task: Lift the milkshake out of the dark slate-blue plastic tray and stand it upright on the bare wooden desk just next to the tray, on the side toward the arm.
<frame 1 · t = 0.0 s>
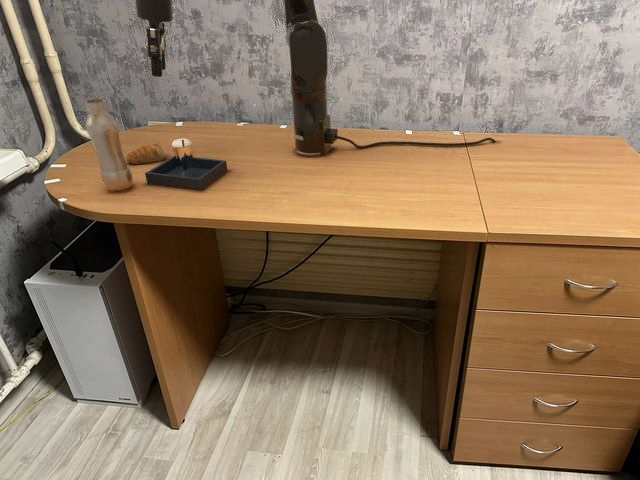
hand: (159, 72, 115), 22 cm above the table, tool pointing down, fingers open, 8 cm apart
plastic bottle: (120, 188, 114), on the table
milkshake: (188, 177, 119), resting in tray
tray: (188, 177, 119), on the table
pastry: (149, 160, 129), on the table
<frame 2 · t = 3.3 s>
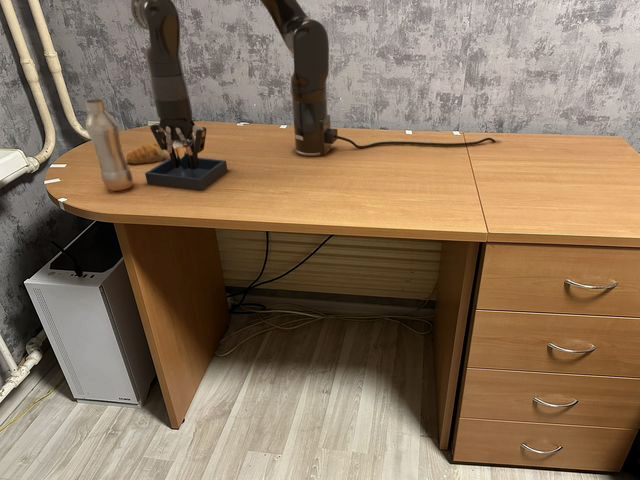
hand: (186, 167, 118), 3 cm above the table, tool pointing down, fingers closed on milkshake, 4 cm apart
milkshake: (188, 176, 119), resting in tray, touching gripper
everything else where it was.
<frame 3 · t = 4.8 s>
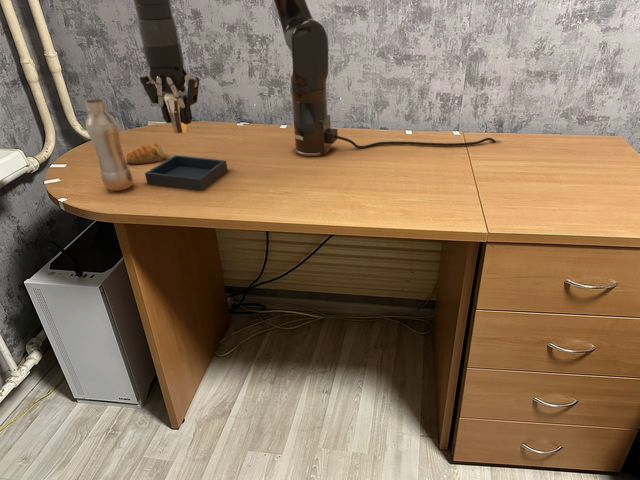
hand: (178, 122, 112), 14 cm above the table, tool pointing down, fingers closed on milkshake, 4 cm apart
milkshake: (181, 133, 113), point 11 cm above the table, touching gripper
everything else where it was.
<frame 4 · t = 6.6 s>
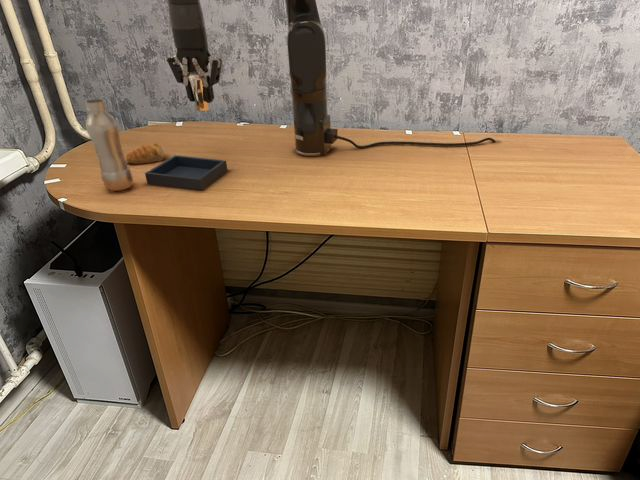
hand: (201, 101, 121), 15 cm above the table, tool pointing down, fingers closed on milkshake, 4 cm apart
milkshake: (203, 111, 122), point 13 cm above the table, touching gripper
everything else where it was.
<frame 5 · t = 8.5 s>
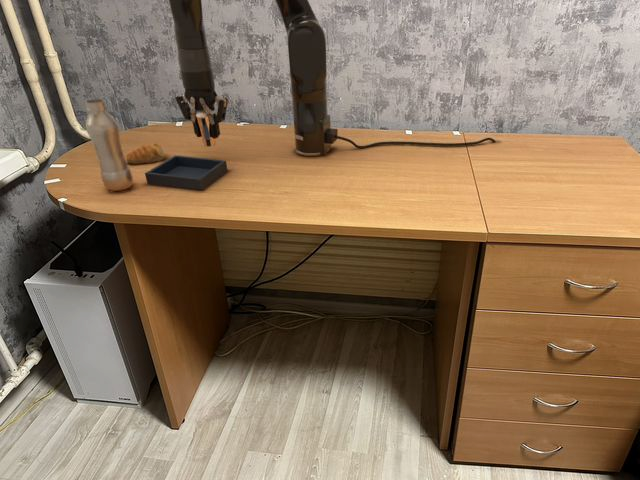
hand: (207, 136, 126), 6 cm above the table, tool pointing down, fingers closed on milkshake, 4 cm apart
milkshake: (210, 145, 128), point 4 cm above the table, touching gripper
everything else where it was.
when the fingers open (2 cm above the table, at t = 9.9 s): milkshake stays where it is, on the table.
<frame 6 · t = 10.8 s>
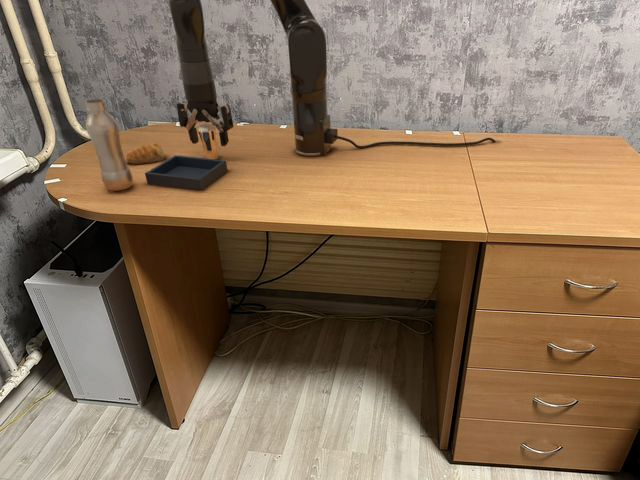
hand: (209, 144, 127), 4 cm above the table, tool pointing down, fingers open, 8 cm apart
milkshake: (212, 159, 130), on the table
everything else where it was.
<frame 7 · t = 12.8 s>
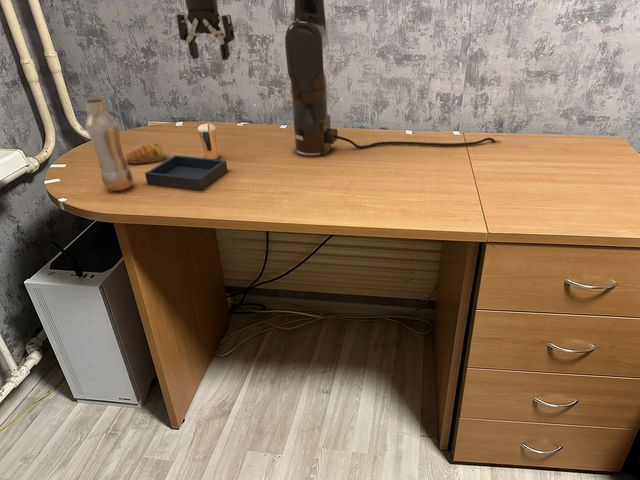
hand: (210, 59, 126), 23 cm above the table, tool pointing down, fingers open, 8 cm apart
nothing on the table moved.
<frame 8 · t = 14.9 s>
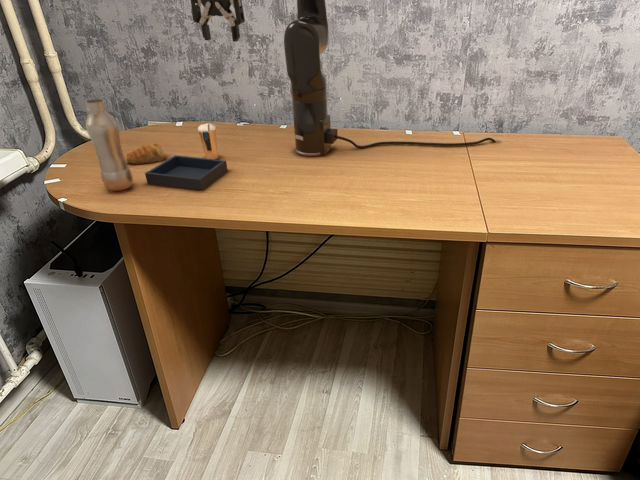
hand: (221, 40, 133), 26 cm above the table, tool pointing down, fingers open, 8 cm apart
nothing on the table moved.
at the end: milkshake inside the target area (0.7 cm from its centre), on the table; milkshake touching table; milkshake tilted 0° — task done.
